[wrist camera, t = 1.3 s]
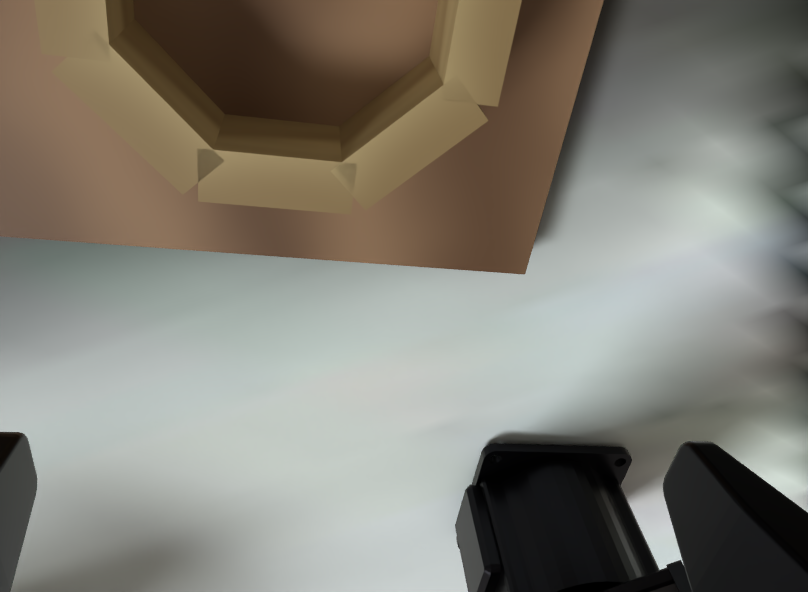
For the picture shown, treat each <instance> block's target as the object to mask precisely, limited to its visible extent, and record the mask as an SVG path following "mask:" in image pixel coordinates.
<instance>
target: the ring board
mask: <svg viewBox="0 0 808 592" xmlns="http://www.w3.org/2000/svg"><path fill="white" fill-rule="evenodd" d="M603 1H604V0H0V236H4V237H17V238H31V239H45V240H59V241H72V242H86V243H100V244H114V245H128V246H141V247H155V248H169V249H183V250H196V251H210V252H224V253H238V254H252V255H265V256H279V257H293V258H307V259H320V260H334V261H348V262H362V263H376V264H389V265H403V266H417V267H431V268H444V269H458V270H472V271H486V272H500V273H513V274H525V272H526V269H527V265H528V262H529V258H530V255H531V251H532V248H533V245H534V241H535V238H536V234H537V231H538V227H539V224H540V220H541V217H542V213H543V210H544V206H545V203H546V199H547V196H548V192H549V189H550V186H551V182H552V179H553V175H554V172H555V168H556V165H557V161H558V158H559V154H560V151H561V147H562V144H563V140H564V137H565V133H566V130H567V126H568V123H569V120H570V116H571V113H572V109H573V106H574V102H575V99H576V95H577V92H578V88H579V85H580V81H581V78H582V74H583V71H584V67H585V64H586V60H587V57H588V54H589V50H590V47H591V43H592V40H593V36H594V33H595V29H596V26H597V22H598V19H599V15H600V12H601V8H602V5H603Z"/></svg>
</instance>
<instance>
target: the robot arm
mask: <svg viewBox="0 0 808 592" xmlns="http://www.w3.org/2000/svg"><path fill="white" fill-rule="evenodd" d="M494 455H496V456H494ZM631 461H632V459H631V456H630V454H629V452H628V450H627V449H625V448H623V447H599V446H564V445H529V444H490V445H488V446H486V447H485V448H484V449H483V450H482V452H481V456H480V459H479V463H478V466H477V469H476V473H475V476H474V479H473V483H472V485H469V486H468V488H467V489H466V490H465V493H464V497H463V500H462V503H461V507H460V510H459V514H458V517H457V521H456V524H455V528H456V533H457V544H458V547H459V549H460V553H461V558H462V563H463V568H464V573H465V578H466V583H467V588H468V592H808V513H807V512H806V511H805V510H803V509H802V508H801V507H799V506H798V505H797V504H795V503H794V502H793V501H791V500H790V499H789V498H787V497H786V496H785V495H783V494H782V493H781V492H779V491H778V490H776V489H775V488H774V487H772V486H771V485H770V484H768V483H767V482H766V481H764V480H763V479H762V478H760V477H759V476H758V475H756V474H755V473H754V472H752V471H751V470H750V469H748V468H747V467H746V466H744V465H743V464H742V463H740V462H739V461H737V460H736V459H735V458H733V457H732V456H731V455H729V454H728V453H727V452H725V451H724V450H723V449H721V448H720V447H719V446H717V445H716V444H714V443H712V442H699V441H688V442H685V443H683V444H682V445H681V446H680V448H679V449H678V451H677V454H676V456H675V458H674V460H673V462H672V464H671V466H670V468H669V470H668V472H667V474H666V476H665V478H664V483H663V492H664V497H665V501H666V504H667V508H668V511H669V515H670V518H671V522H672V525H673V529H674V532H675V536H676V539H677V543H678V546H679V550H680V553H681V557H682V560H683V564H684V565H683V564H682V562H681V560H679V561H676V562H673V563H670V564H667V565H666V566H667V568H664V569H661V570H659V568H658V565H657V563H656V561H655V559H654V557H653V555H652V553H651V550H650V548H649V546H648V544H647V542H646V540H645V538H644V535H643V533H642V531H641V529H640V527H639V525H638V523H637V520H636V518H635V516H634V514H633V512H632V510H631V508H630V505H629V503H628V501H627V499H626V497H625V495H624V493H623V490H622V488H621V486H620V485H621V483H622V481H623V479H624V477H625V475H626V473H627V471H628V468H629V466H630V464H631ZM36 491H37V474H36V470H35V466H34V462H33V458H32V454H31V450H30V445H29V441H28V439H27V437H26V436H25V435H24V434H23V433H20V432H0V592H10V591H11V587H12V583H13V579H14V576H15V572H16V568H17V564H18V560H19V557H20V553H21V549H22V545H23V541H24V538H25V534H26V530H27V526H28V523H29V519H30V515H31V511H32V507H33V504H34V500H35V496H36Z"/></svg>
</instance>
